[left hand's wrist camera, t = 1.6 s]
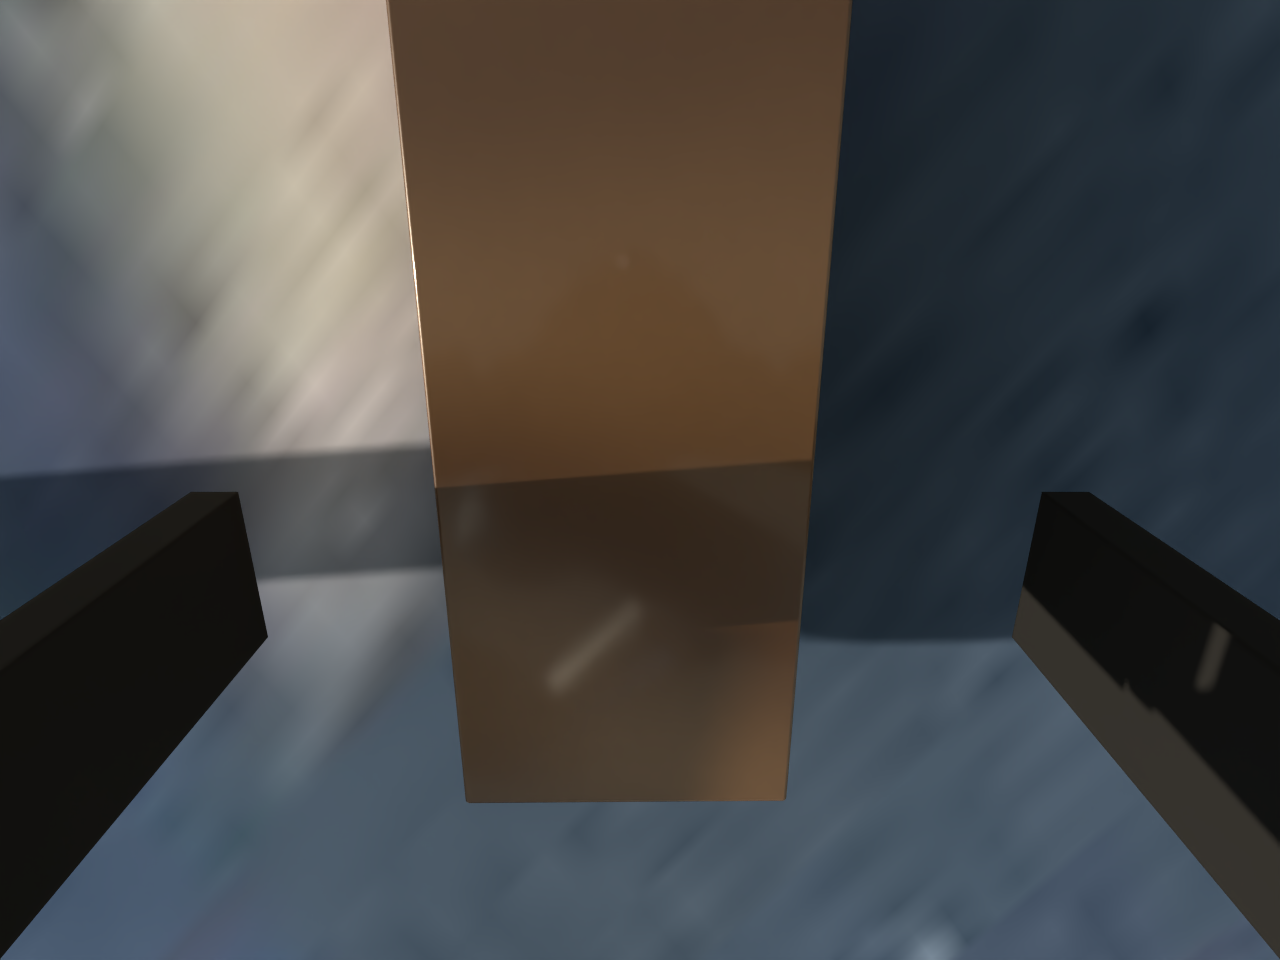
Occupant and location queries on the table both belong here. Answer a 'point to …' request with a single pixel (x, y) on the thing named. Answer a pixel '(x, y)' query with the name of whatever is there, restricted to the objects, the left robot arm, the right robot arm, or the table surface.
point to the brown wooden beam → (622, 375)
